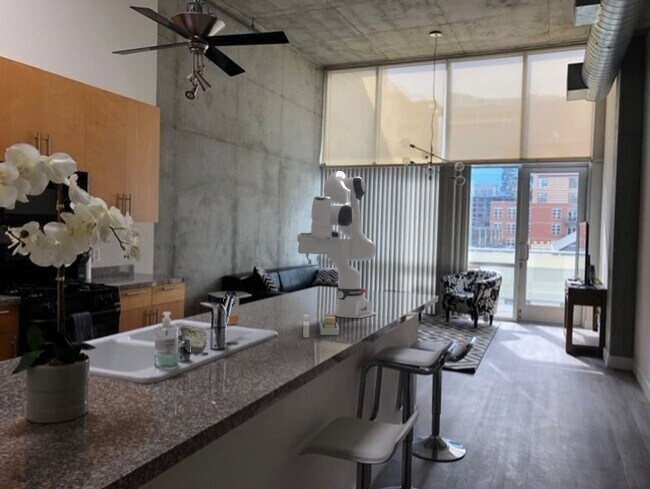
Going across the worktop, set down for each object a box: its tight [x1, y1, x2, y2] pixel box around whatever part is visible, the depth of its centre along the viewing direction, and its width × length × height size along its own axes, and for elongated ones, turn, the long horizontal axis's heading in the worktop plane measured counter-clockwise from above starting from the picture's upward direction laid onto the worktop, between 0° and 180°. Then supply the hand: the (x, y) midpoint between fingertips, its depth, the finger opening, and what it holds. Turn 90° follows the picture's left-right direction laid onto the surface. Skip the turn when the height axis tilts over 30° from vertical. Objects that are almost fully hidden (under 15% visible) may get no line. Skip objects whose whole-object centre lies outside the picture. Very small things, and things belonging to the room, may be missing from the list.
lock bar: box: [323, 313, 336, 328], centre depth 223 cm, size 10×4×6 cm, turn 2°
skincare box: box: [223, 296, 240, 326], centre depth 236 cm, size 6×4×12 cm
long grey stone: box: [179, 324, 208, 354], centre depth 198 cm, size 35×5×10 cm
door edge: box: [302, 313, 310, 338], centre depth 224 cm, size 26×2×5 cm, turn 2°
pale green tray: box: [319, 321, 340, 336], centre depth 223 cm, size 14×8×3 cm, turn 2°
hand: (320, 264), depth 230 cm, fingers open, 8 cm apart
